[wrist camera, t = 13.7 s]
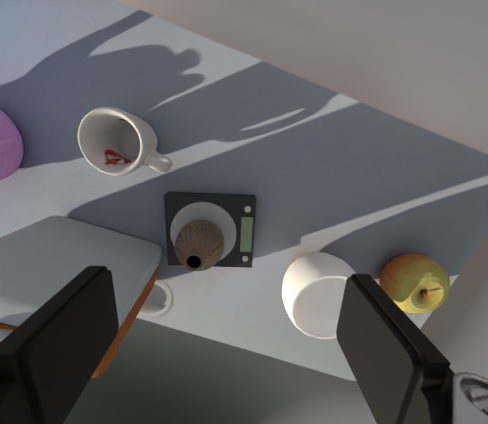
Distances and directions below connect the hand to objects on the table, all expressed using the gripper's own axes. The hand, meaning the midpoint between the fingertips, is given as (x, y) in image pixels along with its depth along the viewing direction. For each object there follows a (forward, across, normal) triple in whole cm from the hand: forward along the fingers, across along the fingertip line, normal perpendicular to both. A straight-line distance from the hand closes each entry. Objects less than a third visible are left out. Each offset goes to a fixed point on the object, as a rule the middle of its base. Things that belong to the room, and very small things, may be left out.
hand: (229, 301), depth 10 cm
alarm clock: (+31, +22, +14) cm, 40 cm away
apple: (+31, -30, +16) cm, 46 cm away
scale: (+30, +4, +9) cm, 32 cm away
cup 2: (+31, -14, +17) cm, 38 cm away
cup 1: (+31, +14, -4) cm, 34 cm away
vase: (+28, +5, +9) cm, 29 cm away
